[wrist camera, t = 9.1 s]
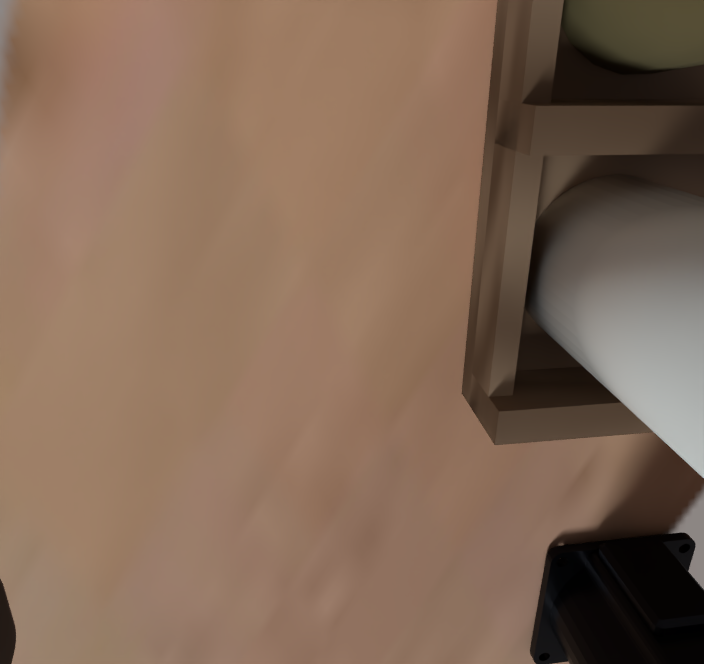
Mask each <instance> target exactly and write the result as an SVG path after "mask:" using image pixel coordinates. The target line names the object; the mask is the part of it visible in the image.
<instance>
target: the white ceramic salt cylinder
mask: <svg viewBox="0 0 704 664" xmlns="http://www.w3.org/2000/svg"><path fill="white" fill-rule="evenodd" d="M524 306H525V308H526V310H527V312H528V313H529V315H530V316H531V318H532V319H533V320H534V321H535V322H536V323H537V324H538V325H539V326H540V327H541V328H542V329H543V330H544V331H545V332H546V333H547V334H548V335H550V336H551V337H552V338H553V339H554V340H555V341H556V342H557V343H558V344H559V345H560V346H561V347H563V348H564V349H565V350H566V351H567V352H568V353H569V354H570V355H571V356H572V357H573V358H574V359H575V360H577V361H578V362H579V363H580V364H581V365H582V366H583V367H584V368H585V369H586V370H587V371H588V372H589V373H591V374H592V375H593V376H594V377H595V378H596V379H597V380H598V381H599V382H600V383H601V384H602V385H604V386H605V387H606V388H607V389H608V390H609V391H610V392H611V393H612V394H613V395H614V396H615V397H616V398H618V399H619V400H620V401H621V402H622V403H623V404H624V405H625V406H626V407H627V408H628V409H629V410H631V411H632V412H633V413H634V414H635V415H636V416H637V417H638V418H639V419H640V420H641V421H642V422H643V423H645V424H646V425H647V426H648V427H649V428H650V429H651V430H652V431H653V432H654V433H655V434H656V435H658V436H659V437H660V438H661V439H662V440H663V441H664V442H665V443H666V444H667V445H668V446H669V447H670V448H672V449H673V450H674V451H675V452H676V453H677V454H678V455H679V456H680V457H681V458H682V459H683V460H685V461H686V462H687V463H688V464H689V465H690V466H691V467H692V468H693V469H694V470H695V471H696V472H697V473H699V474H700V475H701V476H702V477H703V478H704V198H703V197H699V196H696V195H693V194H690V193H687V192H684V191H680V190H677V189H674V188H671V187H668V186H664V185H661V184H658V183H655V182H652V181H648V180H645V179H642V178H639V177H634V176H630V175H605V176H601V177H597V178H593V179H590V180H587V181H585V182H582V183H580V184H578V185H576V186H574V187H572V188H571V189H569V190H568V191H566V192H565V193H563V194H562V195H561V196H559V197H558V198H557V199H556V200H555V201H553V202H552V203H551V204H550V205H549V206H548V207H547V208H546V210H545V211H544V212H543V213H542V214H541V215H540V217H539V218H538V219H537V221H536V222H535V227H534V235H533V242H532V250H531V258H530V266H529V273H528V281H527V289H526V297H525V304H524Z"/></svg>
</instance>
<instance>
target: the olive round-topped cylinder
mask: <svg viewBox="0 0 704 664" xmlns="http://www.w3.org/2000/svg"><path fill="white" fill-rule="evenodd" d="M561 26H562V28H563V30H564V32H565V34H566V36H567V38H568V40H569V42H570V43H571V44H572V45H573V46H574V47H575V48H576V49H577V50H578V51H579V52H581V53H582V54H583V55H584V56H585V57H586V58H587V59H588V60H589V61H590V62H591V63H593V64H594V65H597V66H599V67H602V68H605V69H608V70H610V71H613V72H616V73H618V74H621V75H627V74H654V73H659V72H665V71H671V70H676V69H682V68H687V67H693V66H698V65H704V0H564V3H563V10H562V18H561Z"/></svg>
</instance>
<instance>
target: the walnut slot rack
mask: <svg viewBox="0 0 704 664" xmlns="http://www.w3.org/2000/svg"><path fill="white" fill-rule="evenodd" d="M563 3H564V0H498V3H497V14H496V25H495V36H494V47H493V58H492V69H491V80H490V91H489V102H488V112H487V123H486V134H485V145H484V156H483V167H482V178H481V189H480V200H479V211H478V221H477V232H476V243H475V254H474V265H473V276H472V287H471V298H470V309H469V320H468V330H467V341H466V352H465V363H464V374H463V385H462V394H463V396H464V397H465V399H466V401H467V402H468V404H469V405H470V407H471V408H472V410H473V412H474V413H475V415H476V416H477V418H478V419H479V421H480V423H481V424H482V426H483V427H484V429H485V430H486V432H487V434H488V435H489V437H490V438H491V440H492V441H493V443H494V445H503V444H515V443H527V442H540V441H552V440H564V439H576V438H588V437H600V436H612V435H624V434H637V433H649V432H653V431H652V430H651V429H650V428H649V427H648V426H647V425H646V424H645V423H643V422H642V421H641V420H640V419H639V418H638V417H637V416H636V415H635V414H634V413H633V412H632V411H631V410H629V409H628V408H627V407H626V406H625V405H624V404H623V403H622V402H621V401H620V400H619V399H618V398H616V397H615V396H614V395H613V394H612V393H611V392H610V391H609V390H608V389H607V388H606V387H605V386H604V385H602V384H601V383H600V382H599V381H598V380H597V379H596V378H595V377H594V376H593V375H592V374H591V373H589V372H588V371H587V370H586V369H585V368H584V367H583V366H582V365H581V364H580V363H579V362H578V361H577V360H575V359H574V358H573V357H572V356H571V355H570V354H569V353H568V352H567V351H566V350H565V349H564V348H563V347H561V346H560V345H559V344H558V343H557V342H556V341H555V340H554V339H553V338H552V337H551V336H550V335H548V334H547V333H546V332H545V331H544V330H543V329H542V328H541V327H540V326H539V325H538V324H537V323H536V322H535V321H534V320H533V319H532V318H531V316H530V315H529V313H528V312H527V310H526V308H525V306H524V304H525V297H526V289H527V281H528V273H529V266H530V258H531V250H532V242H533V235H534V227H535V222H536V221H537V219H538V218H539V217H540V215H541V214H542V213H543V212H544V211H545V210H546V208H547V207H548V206H549V205H550V204H551V203H552V202H553V201H555V200H556V199H557V198H558V197H559V196H561V195H562V194H563V193H565V192H566V191H568V190H569V189H571V188H572V187H574V186H576V185H578V184H580V183H582V182H585V181H587V180H590V179H593V178H597V177H601V176H605V175H630V176H634V177H639V178H642V179H645V180H648V181H652V182H655V183H658V184H661V185H664V186H668V187H671V188H674V189H677V190H680V191H684V192H687V193H690V194H693V195H696V196H699V197H703V198H704V65H698V66H693V67H687V68H682V69H676V70H671V71H665V72H659V73H654V74H627V75H621V74H618V73H616V72H613V71H610V70H608V69H605V68H602V67H599V66H597V65H594V64H593V63H591V62H590V61H589V60H588V59H587V58H586V57H585V56H584V55H583V54H582V53H581V52H579V51H578V50H577V49H576V48H575V47H574V46H573V45H572V44H571V43H570V42H569V40H568V38H567V36H566V34H565V32H564V30H563V28H562V26H561V18H562V10H563Z"/></svg>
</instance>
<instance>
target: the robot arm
mask: <svg viewBox="0 0 704 664" xmlns="http://www.w3.org/2000/svg"><path fill="white" fill-rule="evenodd" d="M694 550H695V542H694V541H693V540H692V538H690V536H689V535H688V534H686V533H673V534H664V535H655V536H646V537H636V538H627V539H618V540H609V541H600V542H590V543H581V544H572V545H563V546H557V547H554V548H553V549H551V550H550V551H549V552H548V554H547V556H546V562H545V568H544V574H543V579H542V585H541V591H540V596H539V602H538V608H537V614H536V619H535V625H534V631H533V636H532V642H531V648H530V654H531V656H532V658H533V660H534V662H535V663H536V664H552V663H559V662H566V661H569V663H570V664H704V589H703V588H702V587H701V586H700V585H699V584H698V582H697V581H696V580H695V579H694V578H693V577H692V575H691V574H690V573H689V572H688V570H689V566H690V563H691V560H692V556H693V553H694ZM560 558H561V559H560ZM15 643H16V629H15V624H14V621H13V617H12V614H11V610H10V607H9V603H8V600H7V596H6V593H5V589H4V586H3V583H2V581H1V579H0V664H11V663H12V659H13V655H14V650H15Z"/></svg>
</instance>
